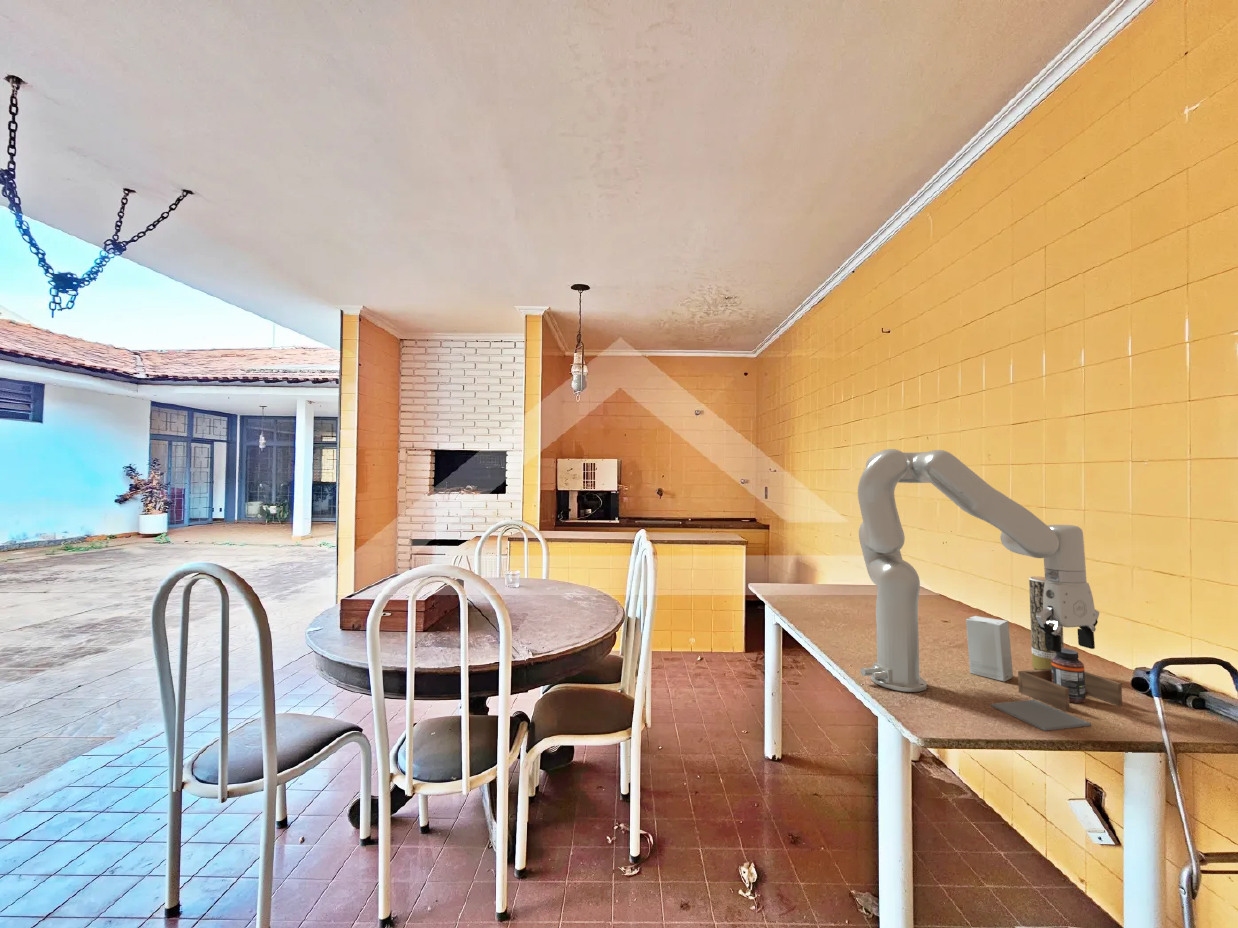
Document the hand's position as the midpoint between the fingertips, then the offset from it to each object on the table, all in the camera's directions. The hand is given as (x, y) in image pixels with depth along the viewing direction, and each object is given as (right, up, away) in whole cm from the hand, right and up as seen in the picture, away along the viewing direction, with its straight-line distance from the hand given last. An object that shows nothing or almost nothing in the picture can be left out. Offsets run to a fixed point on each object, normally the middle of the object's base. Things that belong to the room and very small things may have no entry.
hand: (1070, 648), depth 121 cm
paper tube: (+10, -13, +18) cm, 24 cm away
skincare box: (-9, -13, +14) cm, 21 cm away
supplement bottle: (-1, -12, 0) cm, 12 cm away
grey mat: (-15, -11, -9) cm, 21 cm away
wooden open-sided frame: (-1, -12, 0) cm, 12 cm away
